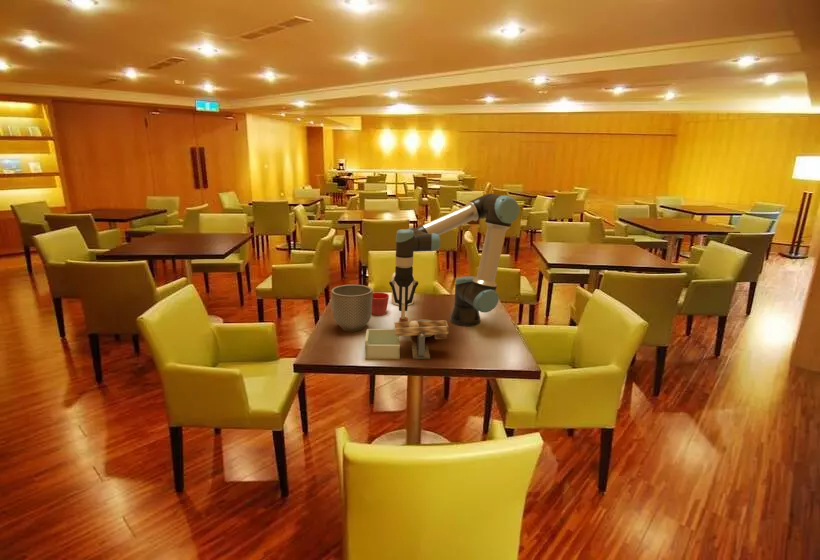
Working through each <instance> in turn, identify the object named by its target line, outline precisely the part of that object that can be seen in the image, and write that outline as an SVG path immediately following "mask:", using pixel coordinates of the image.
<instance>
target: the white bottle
mask: <svg viewBox="0 0 820 560" xmlns="http://www.w3.org/2000/svg"><path fill="white" fill-rule="evenodd" d="M394 277H395V272H393V273H392V275H391V281H392V280H393V279H394ZM413 278H414V279H415V275H414V274H413ZM394 286H395V291H396V295H397V299H398V300H399V286H398V285H397V283H396V282H395V285H394ZM412 287H413V282H412V283H411V284H410V286H409V287H408V300H409V298H410V294H411V291H412ZM414 296H415V295H414ZM414 296H413V300H412V303H409V304H408V306H411V305H413V304H414V301H415V300H414V299H415V298H414ZM391 303H392V305H396V306H398V307H399V304H398V303H395V300H394V296H393V291H392V290H391ZM402 303H405V287H402Z"/></svg>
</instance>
